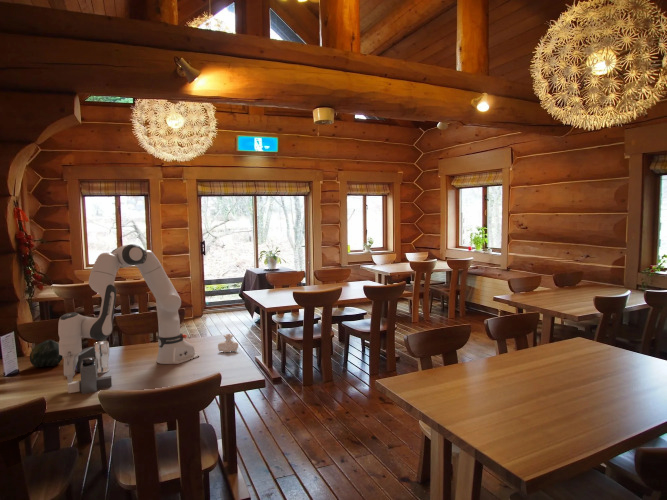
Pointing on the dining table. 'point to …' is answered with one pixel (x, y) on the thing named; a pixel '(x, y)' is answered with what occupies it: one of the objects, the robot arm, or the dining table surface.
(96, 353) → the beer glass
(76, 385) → the plug
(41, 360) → the squash
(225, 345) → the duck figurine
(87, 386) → the block
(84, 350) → the leaning round-cornered charcoal block
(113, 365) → the dining table surface
